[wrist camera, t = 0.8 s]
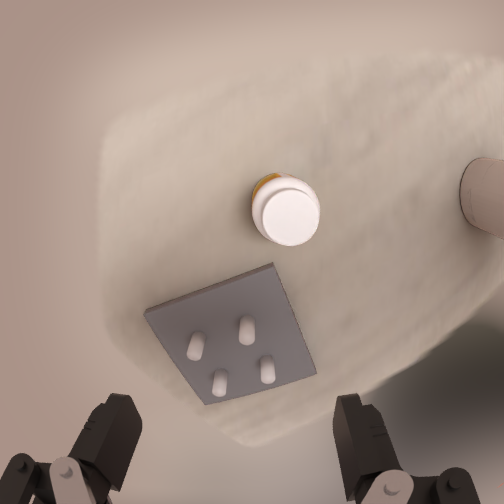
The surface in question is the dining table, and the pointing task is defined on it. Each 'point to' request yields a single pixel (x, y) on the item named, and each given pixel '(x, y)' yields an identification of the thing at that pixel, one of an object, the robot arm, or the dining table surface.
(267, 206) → the supplement bottle
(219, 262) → the dining table surface
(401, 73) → the dining table surface
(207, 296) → the pin holder
